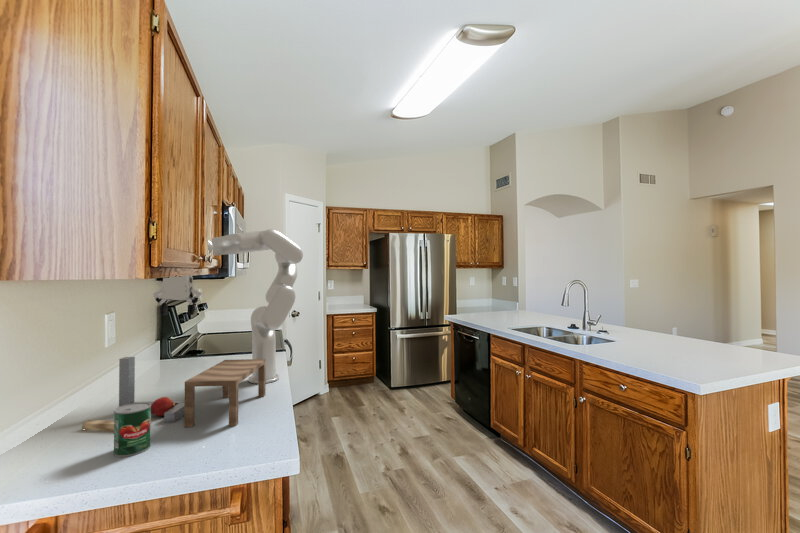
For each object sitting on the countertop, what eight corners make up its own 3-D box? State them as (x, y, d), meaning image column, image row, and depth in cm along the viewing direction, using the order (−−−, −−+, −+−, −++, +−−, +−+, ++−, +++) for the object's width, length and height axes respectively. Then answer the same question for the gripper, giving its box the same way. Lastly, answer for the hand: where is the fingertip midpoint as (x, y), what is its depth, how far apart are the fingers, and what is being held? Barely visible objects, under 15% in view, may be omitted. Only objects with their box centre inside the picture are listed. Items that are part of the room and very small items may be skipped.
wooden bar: (133, 429, 111) (133, 421, 111) (126, 432, 109) (126, 424, 109) (89, 428, 113) (89, 420, 113) (82, 431, 110) (82, 423, 110)
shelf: (224, 395, 141) (225, 359, 141) (265, 395, 142) (265, 359, 142) (184, 427, 112) (184, 381, 112) (235, 425, 113) (235, 380, 113)
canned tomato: (134, 441, 102) (135, 401, 103) (158, 444, 100) (158, 403, 101) (105, 455, 95) (105, 411, 95) (129, 458, 93) (130, 414, 93)
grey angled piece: (125, 410, 126) (125, 356, 126) (192, 409, 127) (192, 355, 128) (99, 424, 114) (100, 365, 115) (174, 422, 116) (174, 363, 116)
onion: (167, 398, 119) (141, 403, 118) (170, 416, 119) (144, 421, 118) (177, 392, 125) (153, 397, 124) (180, 409, 124) (156, 414, 124)
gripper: (205, 269, 146) (205, 314, 146) (160, 270, 145) (159, 314, 145) (196, 269, 139) (196, 316, 138) (148, 270, 138) (147, 316, 137)
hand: (177, 315), depth 142 cm, fingers open, 9 cm apart
